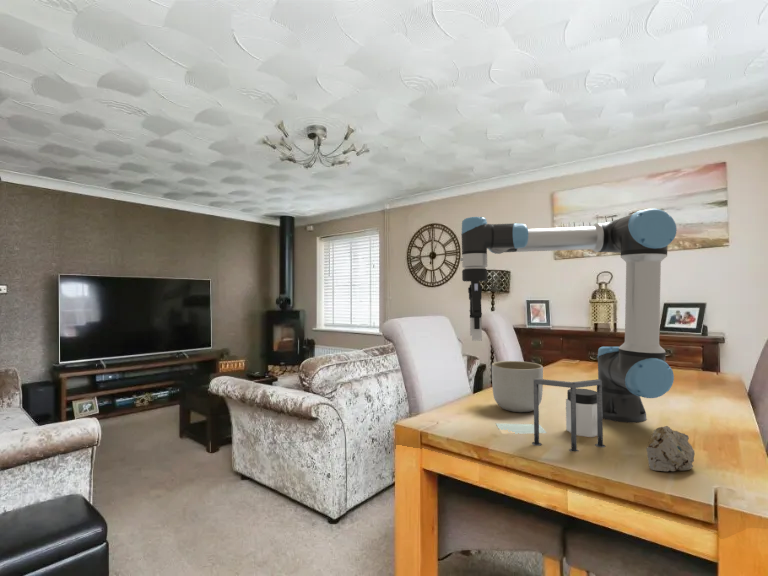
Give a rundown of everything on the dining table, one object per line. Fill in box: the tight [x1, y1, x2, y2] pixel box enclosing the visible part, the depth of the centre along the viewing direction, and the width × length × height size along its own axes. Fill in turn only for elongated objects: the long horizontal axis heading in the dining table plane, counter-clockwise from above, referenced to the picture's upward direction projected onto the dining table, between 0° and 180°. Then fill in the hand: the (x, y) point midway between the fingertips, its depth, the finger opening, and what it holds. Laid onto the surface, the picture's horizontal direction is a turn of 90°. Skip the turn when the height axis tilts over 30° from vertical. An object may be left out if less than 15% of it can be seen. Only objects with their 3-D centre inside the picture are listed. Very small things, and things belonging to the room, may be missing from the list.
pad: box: [495, 423, 548, 435], centre depth 117 cm, size 13×13×1 cm
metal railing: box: [531, 378, 606, 452], centre depth 103 cm, size 18×6×18 cm, turn 85°
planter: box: [491, 360, 544, 413], centre depth 141 cm, size 17×17×15 cm
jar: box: [565, 388, 597, 438], centre depth 116 cm, size 9×8×12 cm
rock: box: [645, 425, 695, 472], centre depth 91 cm, size 12×7×10 cm, turn 110°
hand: (475, 337), depth 123 cm, fingers open, 13 cm apart
